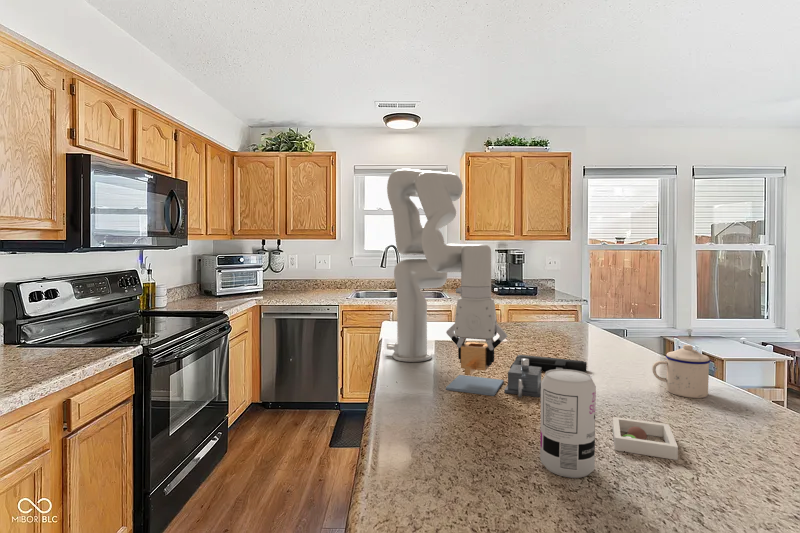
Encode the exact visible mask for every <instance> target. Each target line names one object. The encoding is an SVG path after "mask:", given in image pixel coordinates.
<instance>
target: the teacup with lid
mask: <svg viewBox="0 0 800 533" xmlns="http://www.w3.org/2000/svg"><path fill="white" fill-rule="evenodd" d="M693 348H694V347H693V345H690V344H683V345H682V348H678V349H676V350H674V351H668V352H667V353H666V355H665V358H666V361H665V360H657V361H655V362H654V363H653V365H652V368H651V370H652V373H653V376H654V377H655V378H656V379H657V380H658V381H661V382H665V390H666V391H667V392H669V393H670V394H673V395H675V396H679V397H684V398H688V399H689V398H690V399H702V398H703V399H704V398H706V397H708V396H709V379H710V378H709V370H710V369H709V368H710V363H711V360H710V357H709V356H708V355H706V354H702V353H700V352H699V351H698V350H697V349H696V350H695V349H693ZM660 365H666V377H662V376H659V375H658V374H657V370H656V369H657V367H658V366H660Z"/></svg>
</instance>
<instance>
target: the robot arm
mask: <svg viewBox="0 0 800 533" xmlns="http://www.w3.org/2000/svg"><path fill="white" fill-rule="evenodd" d="M386 184H387V185H386V192H387V198H388V202H389V205H390V208H391V211H392V216H393V226H394V235H395V244H396V245H395V246H396V249H397V251H398V253H399V254H401V255H403V256H425V258H409V259H403V260H400V261H399V262H397V264H395V267H394V269H393V276H394V282H395V289H396V299H397V300H396V303H397V304H396V307H397V308H396V310H397V311H396V312H397V314H396V318H397V324H396V326H397V328H396V329H397V330H396V332H397V337H396V338H397V340H396V341H397V342H395V343H394V342H387V343H386V349H387V350H390V351H391V350H393V351H394V352H393V353H392V358H393V360H396V361H400V362H404V363H405V362H407V363H418V362H427V361H429V360H431V359H432V358H433V357H432V356H433V355H432V352H430V351H428V303H427V299H426V297H425V296H424V294H423V292H422V291H421V289H436V288H437V289H438V288H441V287H443V286H444V285H445V284H446V283H447V280H448V273H460V274H461V275H460V284H461V285H460V286H459V287H456V288H455V293H456V294H459V295H460V297H459V298H457V301H456V308H455V315H454V316H455V319H454V324H451V326H450V327H449V328H448V329H447V330H446V332H445V333H446V335H447V336H448V337H449V338H450V339H451V341H452V342H453V343H454V345H456V347H457V349H458V350H457V351H458V352H457V353H458V354H457V355H458V356H457V358H458V360H459V363H460V364H461V346H462V345H464V344H465V343H466V341H467V339H468V340H469V339H471V340H484V341H485V343H487V345H488V350H487V366H489V367H491V366H492V364H493V363H494V362H495V349H496V348H497V347H498V346H499V345H500V344H501V343H502V342H503V341H505V339H507V337H508V334H507V333H506V332H505V331H504V330H503V328H502V327H501V326H500V325H499V324H498V322H497V312H496V310H497V309H496V303H495V299H494V298H492V249H491V247H490V245H487V244H479V243H478V244H467V243H465V244H464V243H461V244H460V243H445V239H444V236H443V234H442V232H441V231H440V229H441V228H444V227H445V226H447V225H449V224H451V223H452V221H454V219H455V218H456V216H457V215H456V214H457V210H456V207H455V205H454V202H455V201H458V200H459V199H460V198H461V197H462V194H463V190H464V188H463V187H464V185H463V182H462V180H461V177H459V176H458V175H457V174H455V173H454V172H453V173H452V172H443V171H436V170H435V171H434V170H423V169H422V170H421V169H415V168H414V169H411V168H401V169H396V170H394V171H393V172H391V174H390V175H389V177H388V180H387V183H386ZM410 197H417V198H418V199H419V202H420V203H421V206H422V209H423V212H424V215H425V218H426V220H427V221H426V222H425V224H424V226H423V225H422V223H421V216H420V211H419V208H418V207H417V206H416V204H415V202H414V201H413V200H411V198H410ZM497 334H498V335H499V337H498V338H496V340H494V337H495V336H497Z"/></svg>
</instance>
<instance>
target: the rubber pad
mask: <svg viewBox="0 0 800 533" xmlns="http://www.w3.org/2000/svg"><path fill="white" fill-rule="evenodd" d="M504 382H505V381H504V379H500V378H489V377H481V376H471V375H465V374H464V375H463V374H459V375H457V377H455V378H454V379H453V380H452V381H450V383H449V384H448V385H447V386H446V387H445V390H446V391H453V392H460V393H469V394H474V395H475V394H476V395H482V396H484V395H485V396H491V397H495V396H496V394H497V393H498V391H499V390H500V388H501V387H502V385H503V384H504Z"/></svg>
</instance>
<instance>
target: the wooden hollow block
mask: <svg viewBox="0 0 800 533" xmlns="http://www.w3.org/2000/svg"><path fill="white" fill-rule="evenodd" d="M487 350H488V345H487V343H486V342H474V341H473V342H472V341H467V342H465V343H464V345H462V346H461V363H460V369H464V375H465V376H471V375H472V374H473V373H474V372H475V371H484V372H485V371H487V370H488V369H489V368H490V366H487Z"/></svg>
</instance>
